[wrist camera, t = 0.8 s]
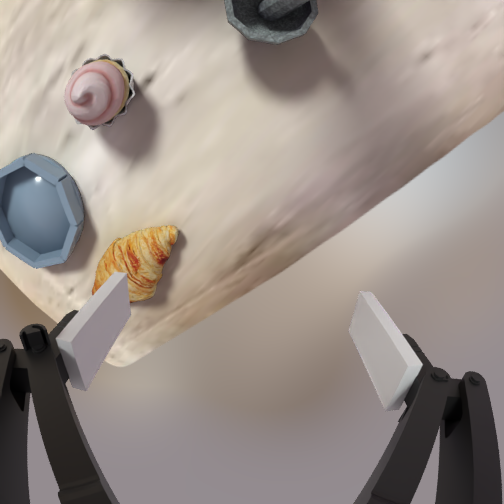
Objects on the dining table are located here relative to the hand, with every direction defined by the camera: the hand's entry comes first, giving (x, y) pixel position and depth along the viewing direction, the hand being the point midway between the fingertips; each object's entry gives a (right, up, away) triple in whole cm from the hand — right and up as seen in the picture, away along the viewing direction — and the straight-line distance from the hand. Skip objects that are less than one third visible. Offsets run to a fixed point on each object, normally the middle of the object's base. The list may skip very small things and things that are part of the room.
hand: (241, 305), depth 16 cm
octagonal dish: (-33, +10, +22) cm, 41 cm away
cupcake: (-17, +24, +15) cm, 33 cm away
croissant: (-18, +1, +29) cm, 34 cm away
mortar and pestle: (+3, +32, +12) cm, 34 cm away
